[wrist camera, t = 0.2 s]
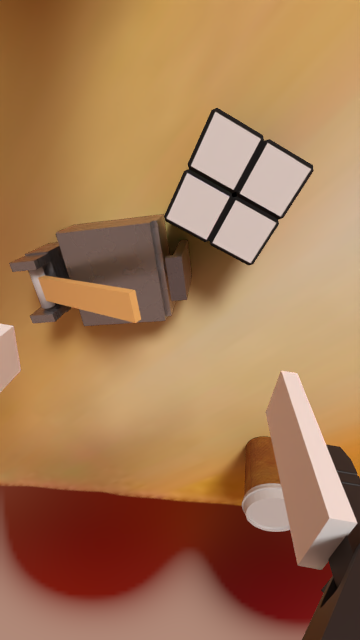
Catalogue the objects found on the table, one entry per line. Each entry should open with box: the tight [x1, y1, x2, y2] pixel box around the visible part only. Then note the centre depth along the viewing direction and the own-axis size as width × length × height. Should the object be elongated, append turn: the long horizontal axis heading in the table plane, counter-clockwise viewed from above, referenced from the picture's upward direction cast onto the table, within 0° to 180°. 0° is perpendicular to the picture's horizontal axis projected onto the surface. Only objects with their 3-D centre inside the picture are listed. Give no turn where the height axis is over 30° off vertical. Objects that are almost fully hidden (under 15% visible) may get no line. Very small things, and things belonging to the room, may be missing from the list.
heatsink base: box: [9, 214, 192, 326], centre depth 37 cm, size 12×19×9 cm, turn 97°
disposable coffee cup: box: [242, 437, 290, 532], centre depth 49 cm, size 10×10×12 cm
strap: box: [28, 267, 141, 323], centre depth 32 cm, size 5×17×2 cm
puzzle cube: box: [164, 108, 313, 265], centre depth 31 cm, size 10×10×10 cm
